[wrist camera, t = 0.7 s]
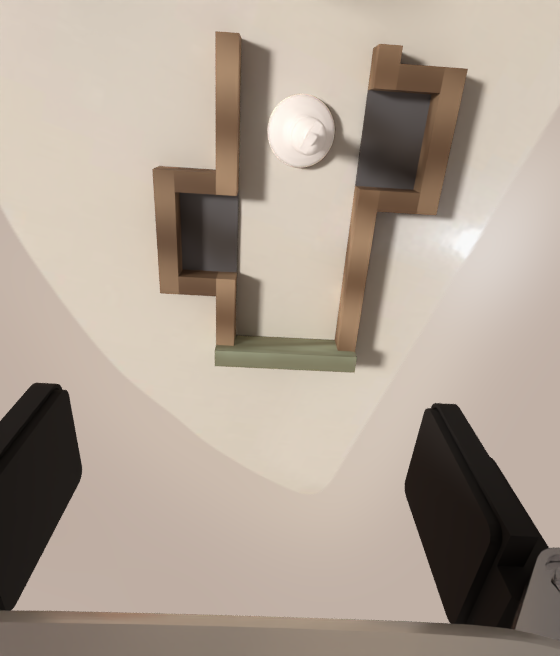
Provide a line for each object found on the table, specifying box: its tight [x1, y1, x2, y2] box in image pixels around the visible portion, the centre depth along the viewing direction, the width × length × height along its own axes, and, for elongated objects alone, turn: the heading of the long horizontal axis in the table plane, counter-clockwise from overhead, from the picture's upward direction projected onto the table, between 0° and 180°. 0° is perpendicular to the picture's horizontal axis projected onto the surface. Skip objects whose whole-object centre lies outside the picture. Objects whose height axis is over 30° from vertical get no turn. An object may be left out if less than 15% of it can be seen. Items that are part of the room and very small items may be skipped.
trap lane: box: [153, 31, 468, 372], centre depth 33 cm, size 24×21×3 cm
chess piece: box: [267, 94, 335, 168], centre depth 27 cm, size 5×5×10 cm
